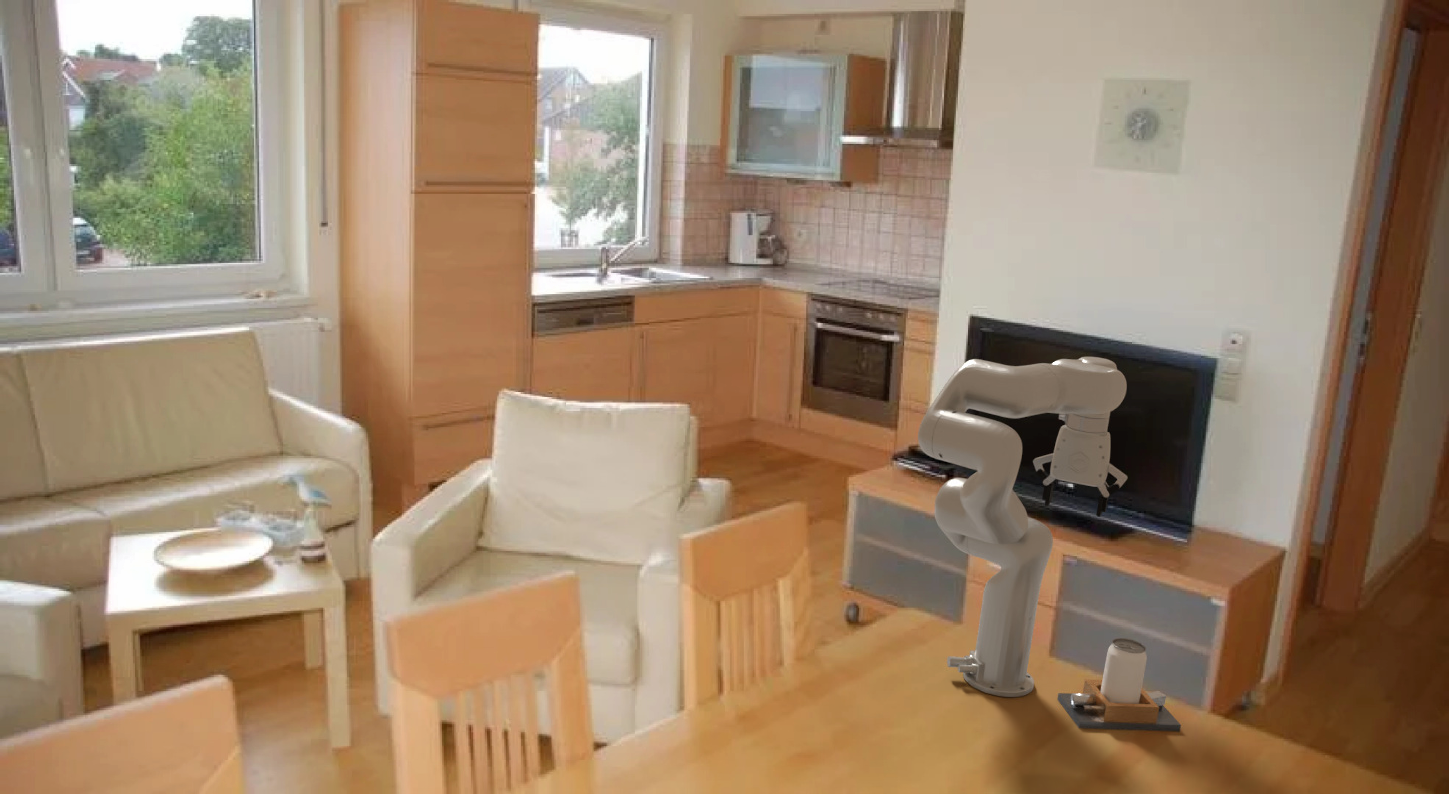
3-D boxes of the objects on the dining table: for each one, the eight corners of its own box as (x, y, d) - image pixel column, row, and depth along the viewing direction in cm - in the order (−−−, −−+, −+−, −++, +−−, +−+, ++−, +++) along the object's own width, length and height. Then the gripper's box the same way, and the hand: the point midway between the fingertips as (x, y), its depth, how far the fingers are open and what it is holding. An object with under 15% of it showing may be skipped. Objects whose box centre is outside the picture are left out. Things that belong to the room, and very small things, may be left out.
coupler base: (1078, 728, 198) (1082, 705, 197) (1057, 699, 208) (1060, 677, 207) (1179, 731, 200) (1184, 709, 199) (1153, 702, 210) (1157, 681, 209)
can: (1138, 720, 200) (1150, 656, 197) (1099, 713, 201) (1111, 649, 198) (1134, 703, 206) (1146, 640, 203) (1096, 696, 207) (1107, 634, 205)
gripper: (1036, 418, 219) (1023, 505, 223) (1132, 435, 212) (1117, 524, 216) (1044, 411, 226) (1031, 495, 230) (1137, 427, 219) (1122, 513, 223)
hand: (1073, 509), depth 223 cm, fingers open, 9 cm apart
